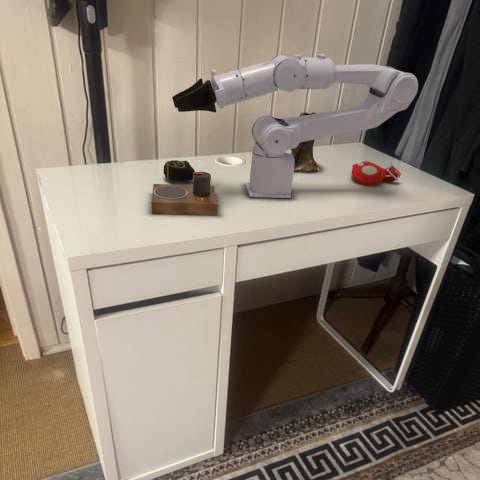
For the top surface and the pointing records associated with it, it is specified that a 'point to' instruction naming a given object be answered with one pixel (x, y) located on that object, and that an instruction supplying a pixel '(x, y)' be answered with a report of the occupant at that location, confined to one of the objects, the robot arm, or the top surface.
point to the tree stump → (304, 154)
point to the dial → (201, 184)
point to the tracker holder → (373, 173)
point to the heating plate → (170, 192)
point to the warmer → (185, 202)
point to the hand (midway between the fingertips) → (175, 104)
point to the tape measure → (178, 171)
